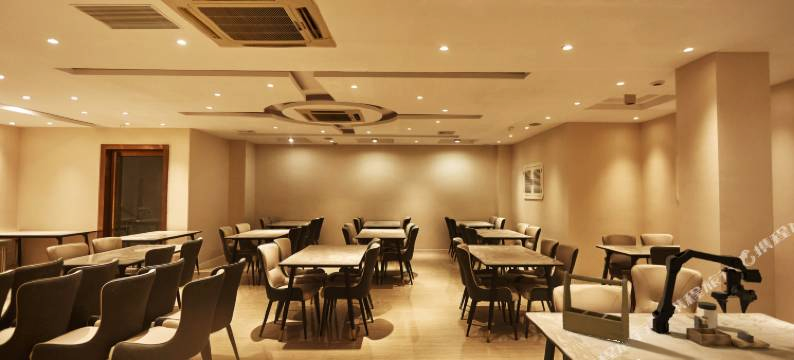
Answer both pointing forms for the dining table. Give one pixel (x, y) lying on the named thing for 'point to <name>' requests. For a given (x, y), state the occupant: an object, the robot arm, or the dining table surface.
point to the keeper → (697, 322)
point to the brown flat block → (708, 337)
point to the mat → (749, 347)
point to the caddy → (595, 313)
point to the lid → (747, 341)
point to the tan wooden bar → (691, 315)
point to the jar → (708, 313)
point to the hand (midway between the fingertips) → (734, 313)
